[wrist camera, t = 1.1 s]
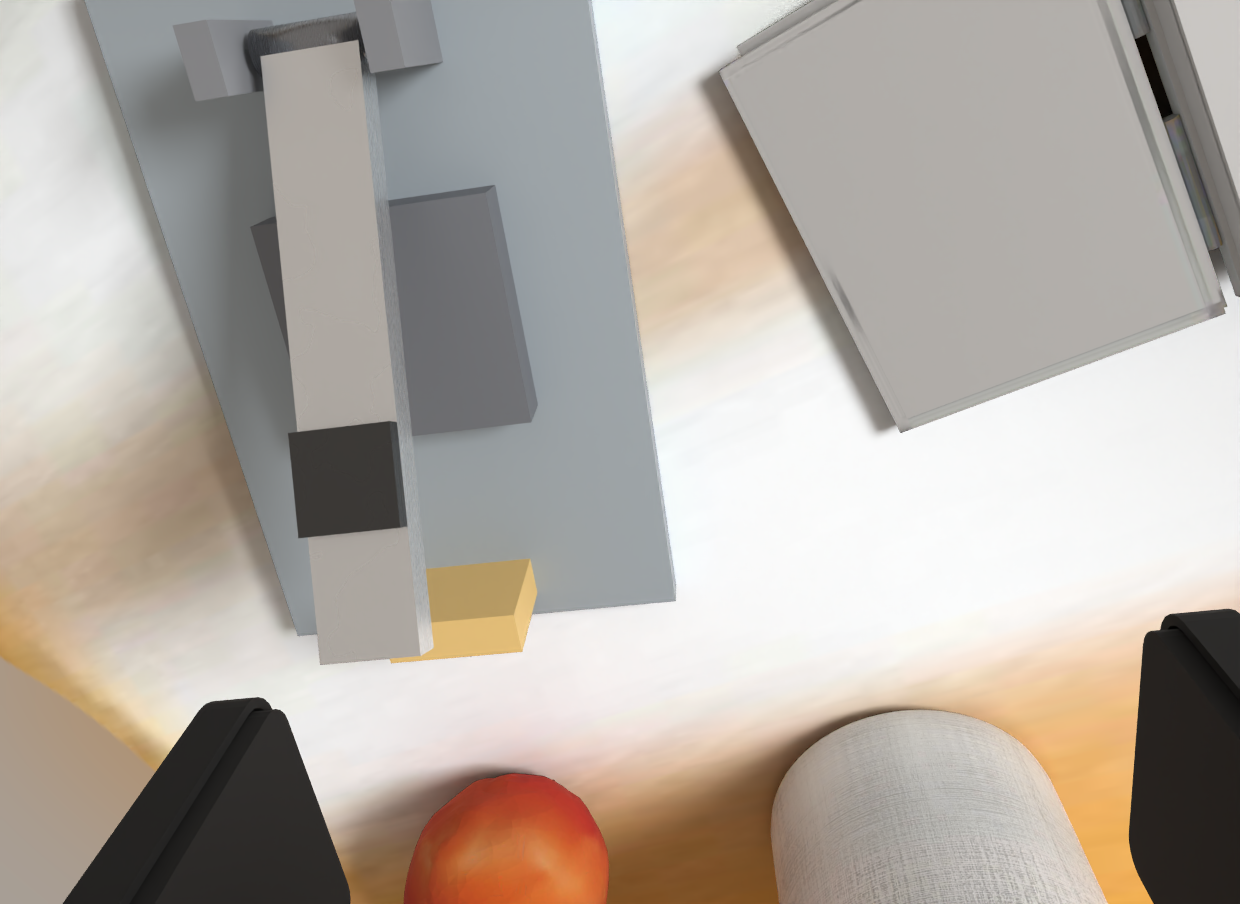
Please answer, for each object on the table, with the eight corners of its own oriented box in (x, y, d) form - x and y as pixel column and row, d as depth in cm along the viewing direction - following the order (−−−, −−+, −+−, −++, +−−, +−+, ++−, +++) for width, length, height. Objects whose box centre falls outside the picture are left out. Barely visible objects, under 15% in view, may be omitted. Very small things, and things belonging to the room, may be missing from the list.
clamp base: (99, -17, 31) (-19, -26, 26) (576, -102, 30) (552, -130, 24) (308, 619, 41) (253, 707, 36) (675, 585, 39) (674, 671, 34)
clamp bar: (268, 42, 29) (236, 12, 27) (380, 23, 29) (356, -8, 27) (329, 657, 29) (300, 670, 27) (444, 646, 28) (424, 659, 27)
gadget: (895, 425, 37) (916, 465, 33) (710, 61, 32) (713, 65, 29) (1554, 111, 31) (1660, 121, 28) (1449, -392, 26) (1562, -455, 23)
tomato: (589, 727, 43) (570, 871, 36) (635, 876, 46) (626, 1035, 39) (396, 756, 44) (339, 900, 37) (454, 898, 48) (413, 1056, 40)
